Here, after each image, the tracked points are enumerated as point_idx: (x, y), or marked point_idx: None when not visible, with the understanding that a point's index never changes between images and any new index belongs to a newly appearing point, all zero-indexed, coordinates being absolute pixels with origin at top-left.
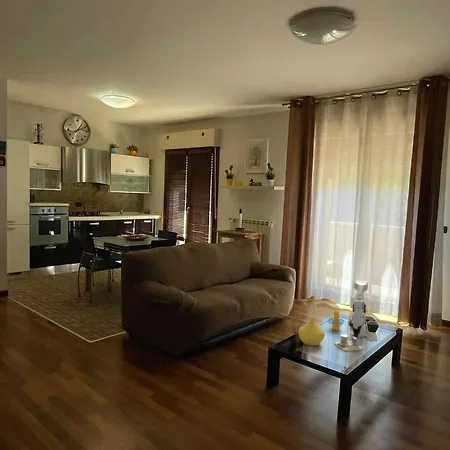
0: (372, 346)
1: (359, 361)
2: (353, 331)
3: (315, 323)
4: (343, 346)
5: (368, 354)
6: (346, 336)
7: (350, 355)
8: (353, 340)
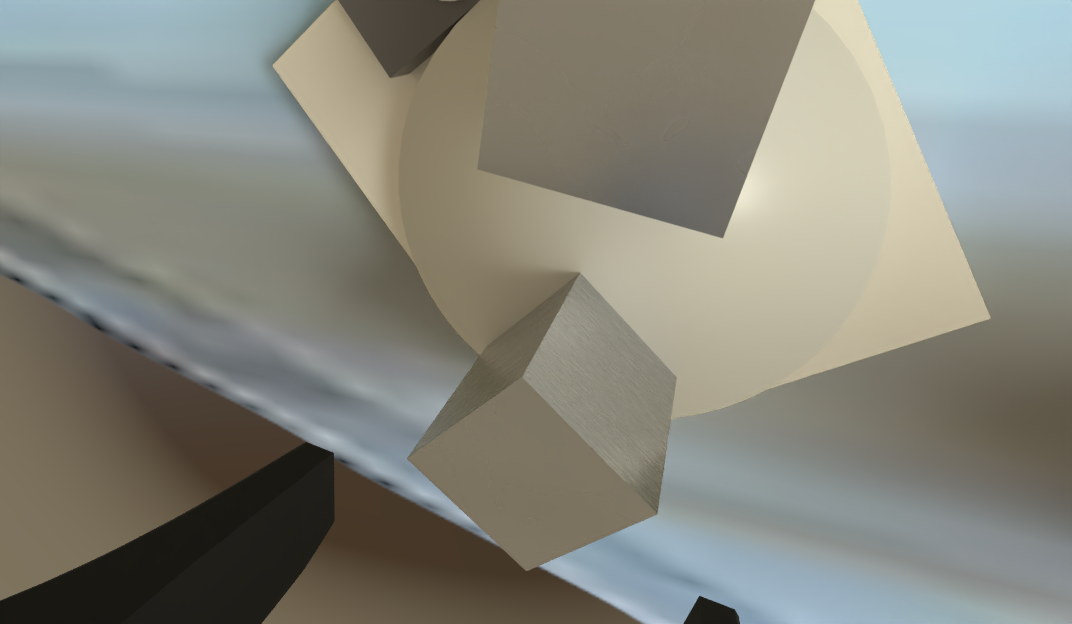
0: (784, 612)
1: (82, 284)
2: (23, 596)
3: None
4: (364, 30)
5: (391, 457)
6: (539, 166)
7: (183, 173)
8: (512, 356)
